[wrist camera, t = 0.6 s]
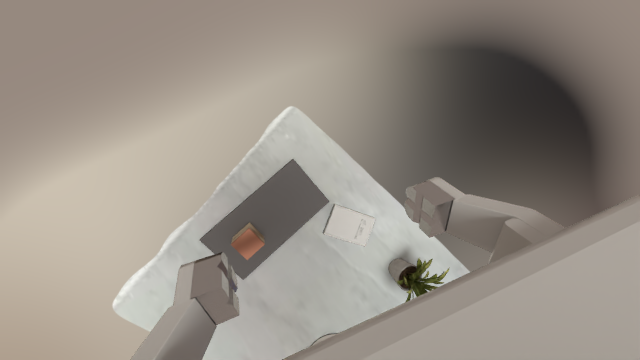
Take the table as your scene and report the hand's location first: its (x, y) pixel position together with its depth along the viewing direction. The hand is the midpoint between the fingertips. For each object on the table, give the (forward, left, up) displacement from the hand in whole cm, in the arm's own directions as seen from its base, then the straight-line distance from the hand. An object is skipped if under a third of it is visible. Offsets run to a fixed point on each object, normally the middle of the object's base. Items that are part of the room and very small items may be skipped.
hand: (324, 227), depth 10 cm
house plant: (-47, -8, -49) cm, 68 cm away
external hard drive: (-26, -5, -50) cm, 56 cm away
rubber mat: (-10, +9, -49) cm, 51 cm away
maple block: (-10, +15, -48) cm, 52 cm away
